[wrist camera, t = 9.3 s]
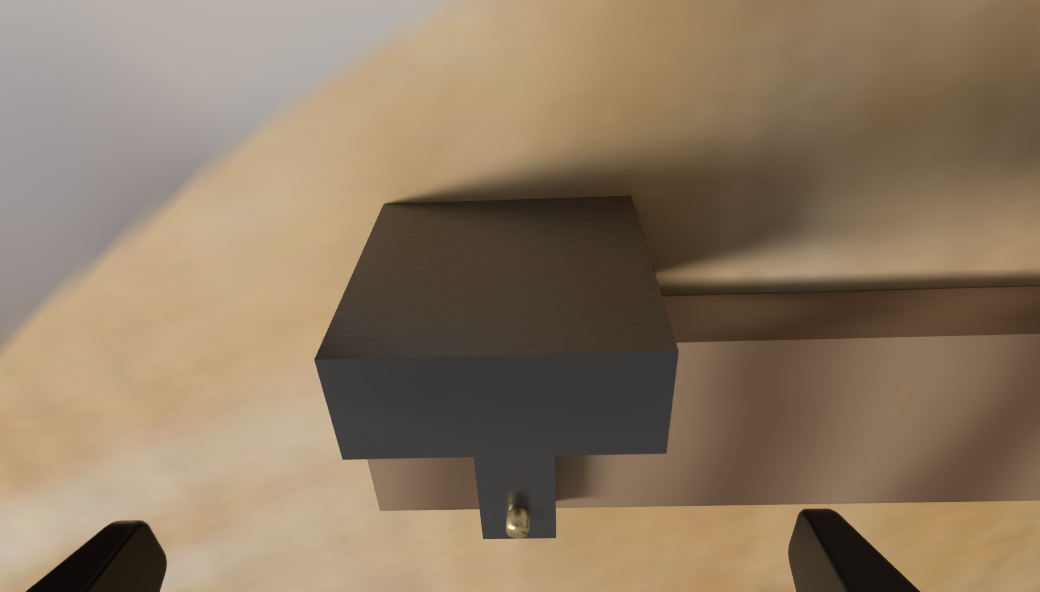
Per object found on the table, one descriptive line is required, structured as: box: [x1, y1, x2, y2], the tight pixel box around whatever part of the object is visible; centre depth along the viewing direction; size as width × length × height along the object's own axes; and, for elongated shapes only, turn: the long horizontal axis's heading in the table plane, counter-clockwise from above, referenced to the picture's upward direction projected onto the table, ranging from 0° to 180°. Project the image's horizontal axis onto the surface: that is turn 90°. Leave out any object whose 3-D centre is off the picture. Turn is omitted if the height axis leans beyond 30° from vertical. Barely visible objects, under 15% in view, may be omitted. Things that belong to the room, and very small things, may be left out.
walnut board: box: [367, 286, 1040, 511], centre depth 18 cm, size 22×6×2 cm, turn 92°
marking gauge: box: [314, 196, 679, 539], centre depth 15 cm, size 6×9×6 cm
